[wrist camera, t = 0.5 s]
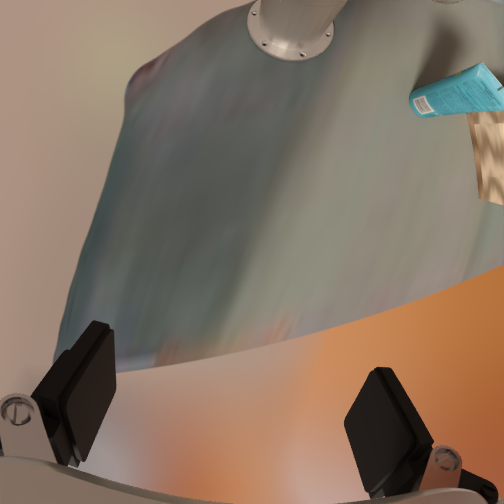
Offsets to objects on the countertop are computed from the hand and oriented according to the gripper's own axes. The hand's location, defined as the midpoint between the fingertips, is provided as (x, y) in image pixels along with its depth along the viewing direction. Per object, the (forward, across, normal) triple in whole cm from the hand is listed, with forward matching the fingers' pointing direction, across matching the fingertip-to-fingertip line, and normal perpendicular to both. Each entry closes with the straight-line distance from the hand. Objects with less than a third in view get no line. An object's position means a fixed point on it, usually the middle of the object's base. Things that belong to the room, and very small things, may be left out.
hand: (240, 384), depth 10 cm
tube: (+36, -24, -23) cm, 49 cm away
